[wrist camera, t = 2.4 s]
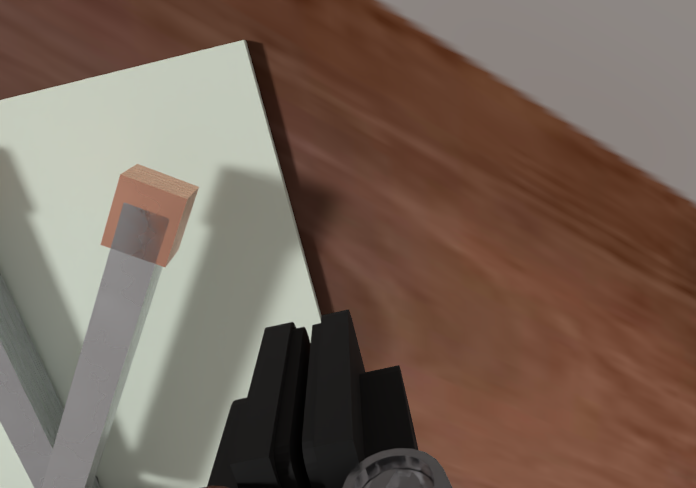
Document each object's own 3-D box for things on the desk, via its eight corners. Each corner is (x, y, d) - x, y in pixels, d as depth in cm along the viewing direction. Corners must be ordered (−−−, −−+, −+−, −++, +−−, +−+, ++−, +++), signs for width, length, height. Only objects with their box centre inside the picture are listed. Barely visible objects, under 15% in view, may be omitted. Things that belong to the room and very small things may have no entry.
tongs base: (-95, 148, 26) (-200, 174, 21) (-41, 135, 26) (-134, 158, 21) (86, 518, 33) (40, 606, 28) (129, 510, 33) (91, 596, 28)
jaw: (137, 163, 23) (120, 174, 22) (199, 186, 24) (187, 199, 22) (42, 491, 29) (22, 522, 27) (94, 505, 29) (77, 537, 27)
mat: (-222, 155, 26) (-234, 158, 26) (245, 39, 25) (243, 40, 24) (14, 575, 35) (9, 584, 34) (372, 503, 33) (373, 511, 33)
